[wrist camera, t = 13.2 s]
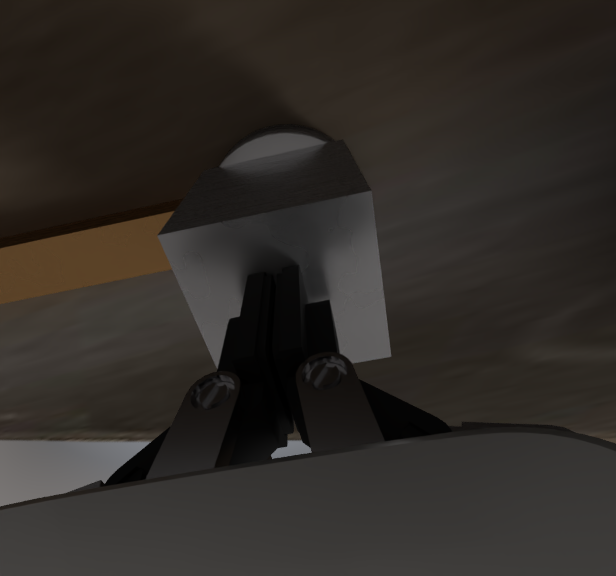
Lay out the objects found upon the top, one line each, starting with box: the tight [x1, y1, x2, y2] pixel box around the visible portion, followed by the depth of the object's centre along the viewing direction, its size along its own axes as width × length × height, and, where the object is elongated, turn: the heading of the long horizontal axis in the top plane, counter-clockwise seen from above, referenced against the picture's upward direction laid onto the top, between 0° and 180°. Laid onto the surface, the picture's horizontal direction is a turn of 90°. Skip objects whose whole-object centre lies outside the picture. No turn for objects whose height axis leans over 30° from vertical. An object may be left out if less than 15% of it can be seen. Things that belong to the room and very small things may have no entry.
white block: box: [157, 139, 391, 369], centre depth 15 cm, size 6×6×7 cm
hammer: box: [0, 124, 335, 304], centre depth 18 cm, size 24×8×6 cm, turn 102°
